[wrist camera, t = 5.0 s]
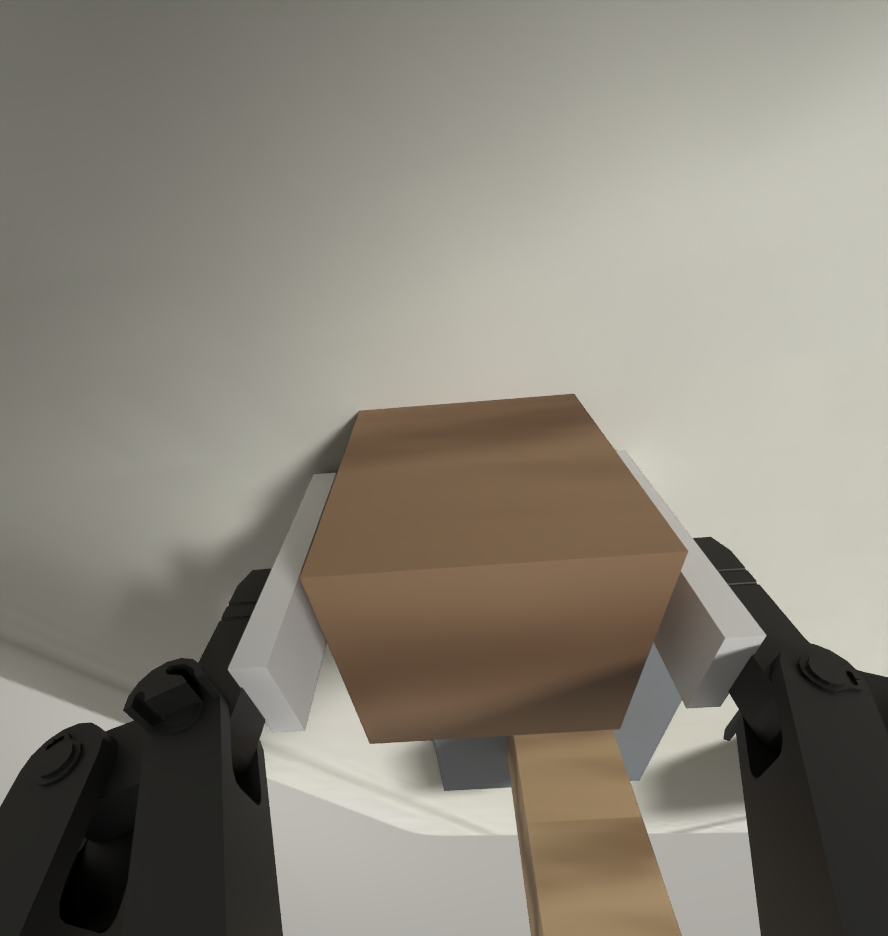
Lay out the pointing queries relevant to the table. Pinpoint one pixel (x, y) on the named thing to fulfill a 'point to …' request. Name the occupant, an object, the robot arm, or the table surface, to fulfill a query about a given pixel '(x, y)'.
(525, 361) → the table surface
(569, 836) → the oak block upper
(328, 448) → the table surface
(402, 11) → the table surface
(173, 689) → the robot arm
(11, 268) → the table surface
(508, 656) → the walnut cube
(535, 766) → the oak block lower
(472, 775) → the slate mat
